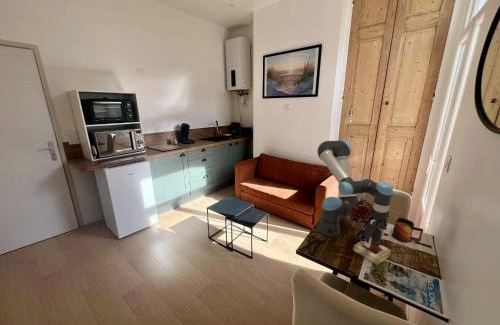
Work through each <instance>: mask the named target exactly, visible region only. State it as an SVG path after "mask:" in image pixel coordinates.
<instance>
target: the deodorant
mask: <svg viewBox="0 0 500 325" xmlns="http://www.w3.org/2000/svg"><path fill="white" fill-rule="evenodd" d="M381 234H382V231H381V230H380V229H379V227H378V228H376V229H375V231H374V233H373V234H372V236H371V238H372V239H371V244H370V248H368V247H366V249H367V250H369V251H371V252H372V253H374V254H377V253H378V249H379V244H380V243H381ZM380 245H381V244H380Z"/></svg>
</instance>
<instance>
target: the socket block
mask: <svg viewBox="0 0 500 325" xmlns="http://www.w3.org/2000/svg"><path fill="white" fill-rule="evenodd" d="M364 244H365V241H362V240H360V241H359V242H357V243H356V244H354V245H353V249H352V251H354V252H355V253H357V254H359V255H361V256H362V257H364V258H365V259H367V260H368V261H370V262H372V263H373V264H374V265H376V266H378V265H380V264H381V263H382V262H384V261H385V260H386V259H388V258H389V257H390V256H391V255H392V250H391V249H389V248H388V247H385V246H384V245H381V244H379V249H378V253H377V254H374V253H372V252H371V251H369V250H367V249H366V246H364Z"/></svg>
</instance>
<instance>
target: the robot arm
mask: <svg viewBox="0 0 500 325" xmlns="http://www.w3.org/2000/svg"><path fill="white" fill-rule="evenodd" d="M316 152H317V156H318V158H319V159H320V160H321V161H322V162H324V164H325V166H326V167H327V169H328V170H329V171H330V173H331V174H332V176H333V177H334V179H335V180H336V182H337V183H338V184H337V185H338V186H337V187H338V192H339V193H340V194H339V196H338V197H336V196H335V197H334V196H328V197H325V198H323V201H322V205H321V216H320V219H319V222H318V223H317V226H316V227H317V231H318V232H319V233H320V234H322V235H323V236H327V237H332V238H334V237H338V236H340V235H341V231H342V230H341V226H340V218H347V217H352V216H351V209H352V208H353V207H354V205H355V204H356V203H357V202H358V201H360V200H361V199H360V198H359V197H358V195H361V194H362V195H363V194H369V195H370V196H372V197H373V202H372V205H371V207H372V208H371V213H370V214H371V216H372V217H373V218H372V219H369V222H368V225H367V227H366V229H365V232H364V234H363V237H364V239H365V238H366V239H365V244H364V246H366V247H368V248H370V244H371V239H372V238H371V236H372V234H373V233H374V231H375V229H376V228H378V229H380V230H381V231H382V234H381V239H380V241H382V240H383V238H384V233H385V231H387V230H388V221H387V220H388V215H389V214H388V213H389V210H390V206H391V205H390V204H391V201H392V196H393V190H394V186H393V184H391V183H389V182H387V181H379V182H376V181H374V180H372V179H370V178H367V177H362V178H361V179H360V180H354V179H352V177H351V173H350V172H351V171H350V167H349V166H350V165H349V162H348V159H349V158H350V156H351V153H352V147H351V144H350V143H349V142H348V141H347V140H340V139H339V140H326V141H323V142H321V143H320V144H319V145H318V147H317V150H316Z"/></svg>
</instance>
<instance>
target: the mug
mask: <svg viewBox="0 0 500 325" xmlns="http://www.w3.org/2000/svg"><path fill="white" fill-rule="evenodd" d="M413 231H417V232H419V236H418V237H414V236H412V234H413ZM423 233H424V228H420V227H416V226H415V223H414V222H413V221H411V220H409V219H407V218H402V217H396V218H395V221H394V224H393V229H392V234H391V236H392V238H393V239H394V240H395V241H398V242H400V243H404V244H405V243H410V242H411V240H412V241H415V242H419V243H421V241H422V238H423Z"/></svg>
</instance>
